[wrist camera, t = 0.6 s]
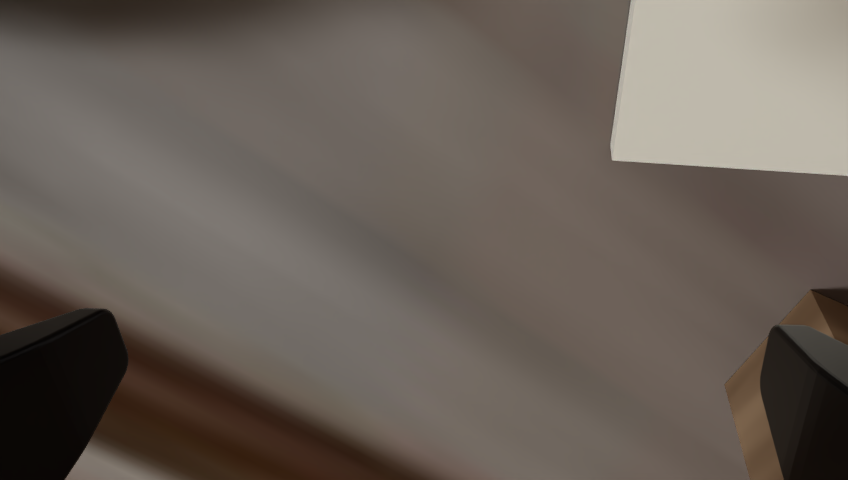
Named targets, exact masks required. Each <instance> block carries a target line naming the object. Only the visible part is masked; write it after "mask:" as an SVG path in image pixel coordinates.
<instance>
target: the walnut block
mask: <svg viewBox="0 0 848 480" xmlns="http://www.w3.org/2000/svg"><path fill="white" fill-rule="evenodd" d="M780 325H806V326H810V327H812V328H814V329H816V330H818V331H820V332H822V333H824V334H826V335H828V336H830V337H832V338H834V339H836V340H838V341H840V342H842V343H844V344H846V345H848V306H846V305H844V304H841V303H839V302H837V301H834V300H832V299H830V298H828V297H825V296H823V295H821V294H819V293H816V292H814V291H812V290H810V291H809V292H808V293H807V294H806V295H805V296H804V297H803V298H802V300H801V301H800V302H799V303H798V304H797V305H796V306H795V307H794V308H793V310H792V311H791V312H790V313H789V314H788V315H787V316H786V317H785V318H784V319H783V321H782V322H781V323H780ZM767 341H768V337H767V338H766V339H765V340H764V342H763V343H762V344H761V345H760V346H759V347H758V348H757V349H756V350H755V351H754V353H753V354H752V355H751V356H750V357H749V358H748V359H747V360H746V361H745V363H744V364H743V365H742V366H741V367H740V368H739V369H738V370H737V371H736V372H735V374H734V375H733V376H732V377H731V378H730V379H729V380H728V381H727V382H726V384H725V388H726V392H727V396H728V399H729V403H730V407H731V410H732V414H733V418H734V421H735V425H736V429H737V433H738V436H739V440H740V444H741V447H742V451H743V455H744V458H745V462H746V466H747V469H748V473H749V477H750V480H784V479H783V475H782V472H781V468H780V464H779V461H778V457H777V453H776V449H775V446H774V442H773V438H772V434H771V431H770V427H769V423H768V419H767V416H766V412H765V408H764V404H763V400H762V397H761V391H760V374H761V369H762V364H763V360H764V355H765V350H766V346H767Z"/></svg>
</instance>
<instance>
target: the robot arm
mask: <svg viewBox="0 0 848 480" xmlns="http://www.w3.org/2000/svg"><path fill="white" fill-rule="evenodd" d="M127 366H128V352H127V349H126V346H125V344H124V341H123V338H122V336H121V333H120V330H119V328H118V325H117V322H116V320H115V317H114V315H113V314H112V313H111V312H110V311H109V310H107V309H93V308H84V309H79V310H75V311H72V312H69V313H66V314H63V315H60V316H57V317H54V318H51V319H48V320H45V321H42V322H39V323H36V324H33V325H30V326H27V327H24V328H21V329H18V330H15V331H12V332H9V333H6V334H3V335H0V480H65V478H66V477H67V475H68V474H69V472H70V471H71V469H72V468H73V466H74V465H75V463H76V462H77V460H78V459H79V457H80V456H81V454H82V453H83V451H84V449H85V448H86V446H87V444H88V442H89V441H90V439H91V437H92V435H93V433H94V431H95V430H96V428H97V426H98V424H99V422H100V420H101V418H102V416H103V414H104V412H105V411H106V409H107V407H108V405H109V403H110V401H111V399H112V397H113V395H114V394H115V392H116V390H117V388H118V386H119V384H120V382H121V380H122V378H123V377H124V375H125V373H126V370H127ZM760 391H761V397H762V400H763V404H764V408H765V412H766V416H767V419H768V423H769V427H770V431H771V434H772V438H773V442H774V446H775V449H776V453H777V457H778V461H779V464H780V468H781V472H782V475H783V479H784V480H848V345H846V344H844V343H842V342H840V341H838V340H836V339H834V338H832V337H830V336H828V335H826V334H824V333H822V332H820V331H818V330H816V329H814V328H812V327H810V326H806V325H780V324H779V325H775V326H774V327H773V328H772V329H771V331H770V333H769V336H768V341H767V346H766V350H765V355H764V360H763V364H762V369H761V374H760Z"/></svg>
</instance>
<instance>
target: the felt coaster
mask: <svg viewBox="0 0 848 480" xmlns="http://www.w3.org/2000/svg"><path fill="white" fill-rule="evenodd" d="M610 147H611V155H612V160H615V161H630V162H645V163H660V164H676V165H691V166H706V167H722V168H737V169H752V170H768V171H783V172H798V173H814V174H829V175H844V176H848V0H631V4H630V11H629V18H628V25H627V32H626V39H625V46H624V53H623V60H622V67H621V74H620V81H619V88H618V95H617V102H616V109H615V116H614V123H613V130H612V137H611V144H610Z"/></svg>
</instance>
